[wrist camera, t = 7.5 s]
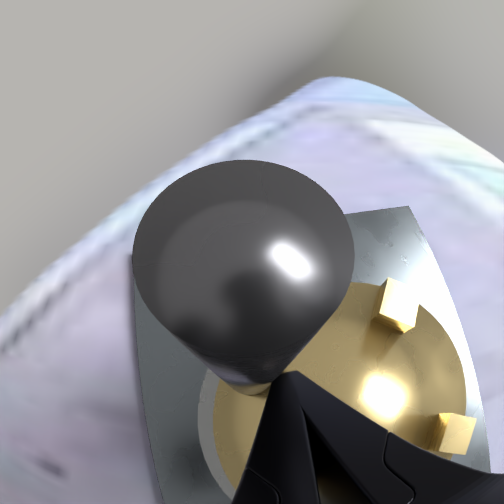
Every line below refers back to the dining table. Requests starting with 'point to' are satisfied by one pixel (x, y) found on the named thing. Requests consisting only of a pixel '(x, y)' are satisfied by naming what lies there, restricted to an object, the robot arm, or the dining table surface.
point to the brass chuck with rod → (291, 308)
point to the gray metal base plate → (206, 382)
